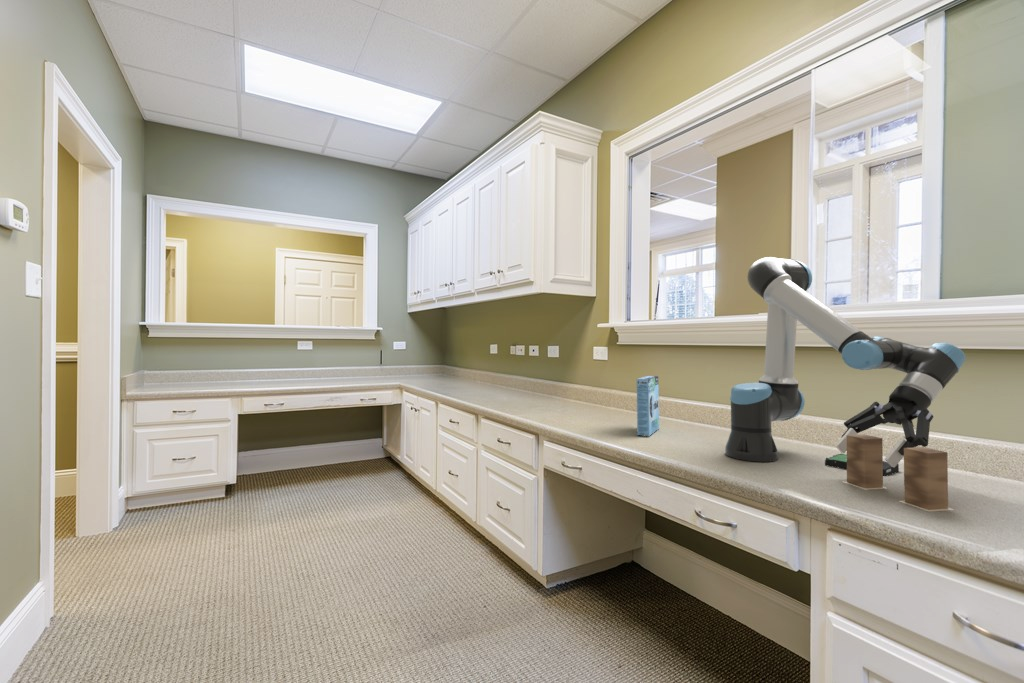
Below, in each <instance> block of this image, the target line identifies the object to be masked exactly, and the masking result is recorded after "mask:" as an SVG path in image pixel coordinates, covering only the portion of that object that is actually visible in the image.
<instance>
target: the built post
mask: <svg viewBox="0 0 1024 683" xmlns="http://www.w3.org/2000/svg"><path fill="white" fill-rule="evenodd" d="M948 462H949V461H948V452H947V451H944V450H938V449H933V448H928V447H923V446H917V447H913V448H904V457H903V481H904V482H903V490H904V491H903V494H904V496H903V497H904V498H903V501H904V502H906V503H909V504H912V505H915V506H918V507H921V508H924V509H927V510H935V509H948V508H949V488H948V487H949V484H948V482H949V481H948V480H949V478H948V477H949V476H948V474H949V473H948V471H949V470H948V464H949V463H948Z"/></svg>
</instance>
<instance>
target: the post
mask: <svg viewBox="0 0 1024 683" xmlns="http://www.w3.org/2000/svg"><path fill="white" fill-rule="evenodd" d="M883 451H884V450H883V438H882V437H878V436H873V435H869V434H865V433H864V434H863V433H862V434H861V433H860V434H858V435H847V451H846V455H847V469H846V481H847V483H850V484H853V485H856V486H859V487H862V488H881V487H884V476H883V461H884V460H883V459H884V458H883V457H884V456H883V455H884V454H883ZM847 483H846V484H847ZM850 484H849V485H850ZM853 485H852V486H853ZM856 486H855V487H856ZM859 487H858V488H859ZM862 488H861V489H862Z"/></svg>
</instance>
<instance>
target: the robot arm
mask: <svg viewBox="0 0 1024 683" xmlns="http://www.w3.org/2000/svg"><path fill="white" fill-rule="evenodd" d="M746 276H747V283H748V285H749V287H750V288H751V290H752V291H754V292H755V293H756V294H757V295H759V296H760V297H761V298H762V300H763V301H764V302H765V303H766V304H767V318H766V333H765V334H766V338H765V352H764V354H765V355H764V370H763V371H764V373H763V375H762V376H761V377H759V379H758V382H747V383H745V382H743V383H739V384H736V385H734V386H733V387H732V388H731V390H730V397H729V400H730V432H729V433H730V434H729V436H728V439H727V442H726V445H725V447H724V448H725V455H726V456H728V457H730V458H733V459H737V460H741V461H749V462H756V463H757V462H758V463H759V462H763V463H764V462H765V463H766V462H768V463H769V462H774V461H775V462H776V461H777V460H779V450H778V449H777V445H776V442H775V439H774V438H773V433H772V423H773V422H778V421H779V422H783V421H788V420H790V419H794V418H796V417H798V416H799V415H800V414H801V413H802V412H803V409H804V407H805V402H806V401H805V397H804V394H803V393H802V392H801V390H800V389H799V381H798V380H797V379H796V378H795V377H794V376H795V375H794V374H795V361H796V360H795V358H796V340H797V339H796V338H797V324H798V322H800V323H801V324H802V325H803V326H804V327H806V328H807V329H808V330H810V331H811V332H812V333H813V334H815V335H816V336H817V337H819V338H820V339H822V340H823V341H824V342H825V343H827V344H828V345H829V346H831V347H832V348H833V349H834V350H835V351H837V352H839V354H841V357H842V360H843V362H844V363H845V365H847V366H848V367H849V368H852V369H855V370H862V371H864V370H865V371H868V370H869V371H870V370H877V369H892V370H895V371H899V372H902V373H905V374H906V376H904V378H903V379H902V380H901V381H900V382H899V383H898V386H897V387H896V388H894V390H892V392H891V393H890V394H889V396H888V402H887V403H885V404H884V405H883V404H880V403H879V401H874V402H873V403H872V404H870V406H868V407H867V408H866V409H864V410H862V411H860V412H858V413H857V414H856V415H854V416H852V417H851V418H849V419H847V420H846V421H844V422H843V426H845V427H846V428H847V430H845V431H844V432H843V434H842V435H841V438H840V440H838V442H837V443H836V444H835V448H836V449H837V450H838V451H839V452H840V454H845V453H847V435H859V433H861V432H862V433H863V432H864V431H866V430H869V429H871V428H873V427H876V426H879V425H881V424H883V425H885V424H887V423H889V424H897V425H900V426H902V429H903V433H904V436H903V438H900V440H899V441H898V442H897V443H896V444H895V445H894V447H893V448H892V449H891V450H890V451H889V453H888V454H887V455H886V456H885V457H884V461H885V462H888V464H889V465H890V466H891V467H894V468H895V467H896V465H897V464H899V463H900V462H901V460H902V459H904V448H913V447H920V446H921V447H925V448H927V447H928V445H929V438H930V423H931V422H932V421H933V418H934V415H933V414H932V413H931V412H930V411H929V410H928V409H929V407H930V406H931V404H932V402H934V400H935V399H937V397H938V396H939V394H940V393H941V392H942V391H943V389H945V387H946V386H947V385H948V384H949V383H950V381H951V380H952V379H953V378H954V377H955V376H956V374H957V373H959V372H960V369H961V367H962V366H963V365H964V363H965V362H966V361H967V360H966V359H967V357H966V354H965V353H964V351H963V350H962V349H960V348H959V347H958V346H955V345H953V344H951V343H948V342H935V343H933V344H932V345H931V346H929V347H928V348H926V347H923V346H917V345H913V344H909V343H905V342H902V341H898V340H895V339H892V338H890V337H883V336H873V337H871V336H869V335H868V334H866V333H864V332H863V331H862V330H861V329H859V328H858V327H857V326H855V325H854V324H853V323H851V322H849V321H848V320H847V319H846V318H844V317H843V316H842V315H840V314H838V313H836V312H835V310H833V309H831V308H829V306H827V305H826V304H824V303H823V302H821V301H820V300H819V299H817V298H816V297H814V296H813V295H812V294H810V293H808V292H807V290H809V288H811V285H812V283H813V274H812V271H811V269H810V268H809V266H807V265H806V264H805V263H804V262H802V261H799V260H797V259H796V260H795V259H792V258H791V259H789V258H781V257H780V258H778V257H773V256H769V257H768V256H767V257H763V258H760V259H758V260H756V261H755V262H753V263H752V264H751V265H750V267H749V269H748V272H747V275H746ZM915 419H917V421H916V429H914V427H915V426H914V423H913V420H915Z"/></svg>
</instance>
